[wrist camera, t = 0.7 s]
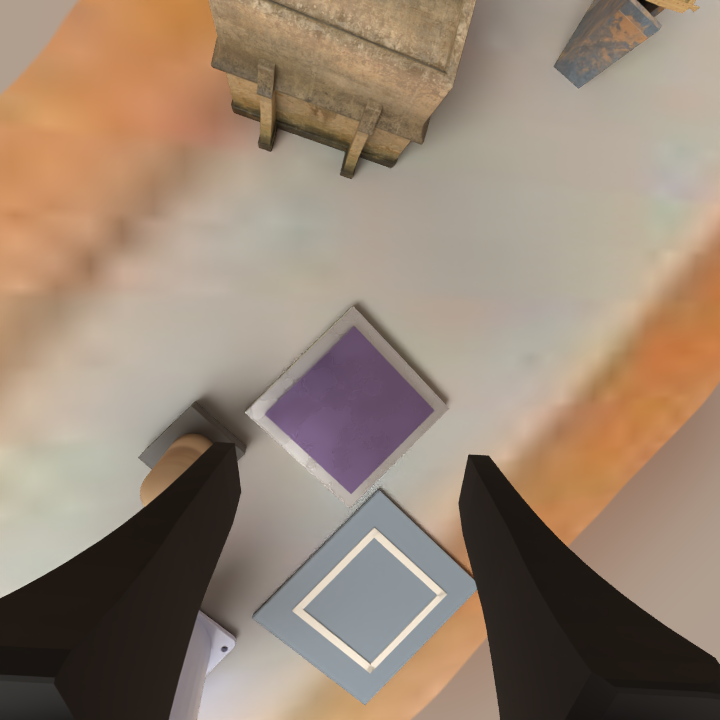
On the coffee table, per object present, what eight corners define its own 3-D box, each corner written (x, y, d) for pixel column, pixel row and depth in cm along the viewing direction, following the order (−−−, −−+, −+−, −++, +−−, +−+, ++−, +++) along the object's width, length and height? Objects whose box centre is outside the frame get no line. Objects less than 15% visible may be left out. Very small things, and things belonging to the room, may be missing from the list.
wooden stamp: (197, 494, 32) (173, 551, 24) (144, 450, 31) (102, 496, 23) (246, 446, 32) (236, 489, 25) (195, 401, 31) (168, 431, 23)
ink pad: (348, 503, 34) (350, 511, 32) (245, 410, 31) (244, 414, 30) (445, 405, 34) (452, 410, 33) (351, 306, 32) (355, 306, 30)
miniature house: (413, 200, 32) (484, 143, 21) (221, 134, 29) (182, 28, 18) (469, -9, 30) (577, -189, 19) (274, -99, 28) (269, -371, 16)
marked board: (364, 702, 36) (365, 706, 36) (252, 615, 34) (252, 619, 33) (478, 583, 37) (480, 586, 37) (378, 489, 34) (379, 491, 34)
